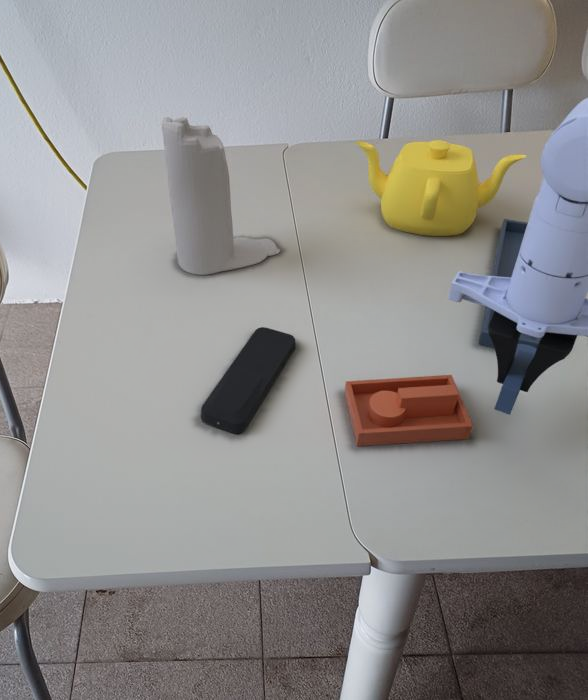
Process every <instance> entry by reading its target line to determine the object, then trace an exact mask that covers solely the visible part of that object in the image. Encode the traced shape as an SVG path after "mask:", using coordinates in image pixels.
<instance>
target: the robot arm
mask: <svg viewBox="0 0 588 700" xmlns="http://www.w3.org/2000/svg"><path fill="white" fill-rule="evenodd" d="M540 168H541V173H542V179H541V184H540V189H539V192H538V193H537V195H536V196H535V198H534V201H533V204H532V207H531V210H530V214H529V217H528V221H527V223H528V224H527V227H526V230H525V234H524V237H523V240H522V243H521V247H520V251H519V254H518V257H517V260H516V264H515V267H514V270H513V274H512V277H511V278H509V277H498V276H492V275H485V274H484V275H483V274H475V273H471V272H466V271H462V270H458V271H457V274H456V275H455V276H454V278H453V279H452V281H451V284H450V285H451V286H450V289H449V293H448V297H447V300H448V301H451V302H454V303H462V301H463V300H464V301H467V302H470V303H473V304H476V305H480V306H483V307H485V308H486V307H489V308H491V309H493V310H494V313H493V316H492V319H491V321H490V323H489V326H488V333H489V336H490V338H491V340H492V342H493V345H494V348H493V349H494V351H495V355H496V363H497V378H496V382H497V383H498V384H502V385H503V383H504V381H505V379H506V376H507V374H508V372H509V370H510V367H511V365H512V363H513V360H514V358H515V354H516V349H517V345H518V341H519V338H520V335H521V333H523V334H527V335H530V336H533V337H537V338H540V342H539V344H538V347H537V350H536V353H535V355H534V357H533V359H532V361H531V363H530V365H529V368H528V370H527V373H526V375H525V377H524V380H523V382H522V385H521V388H520V391H521V392H525V393H528V392H529V390H530V388H531V387H532V385H533V384H534V383H535V382H536V381H537V379H538V378H539V377H540V376H541V375H542V374H544V372H546V371H548V369H549V368H551V367H552V366H554V365H555V364H557V363H559V362H560V361H563V360H564V359H566V358H567V357H568V356H569V354H570V353H571V352H572V351H573V349H574V346H575V343H576V340H577V338H578V337H579V336H580V337H586V338H588V298H587V295H588V97H585V98H584V99H582V100H581V101H580V102H579V103H578V104H576V105H575V107H574V108H572V110H571V111H570V112H569V114H568V115H567V116H566V117H565V118H564V119H563V120H562V122H561V123H559V125H558V127H557V128H556V129H555V130H554V131H553V132H552V133H551V134H550V136H549V137H548V139H547V141H546V142H545V145H544V147H543V149H542V152H541V158H540Z"/></svg>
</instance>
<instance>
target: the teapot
mask: <svg viewBox="0 0 588 700" xmlns="http://www.w3.org/2000/svg"><path fill="white" fill-rule="evenodd" d="M355 144H356V145H357V146H358V147H360V148H361V149H362V150H363V151H364V153H365V154H366V158H367V163H368V165H367V166H368V182H369V186H370V189H371V190H372V192H374V194H375V195H376V196H377V197H379V198H380V210H381V215H382V217H383V219H384V221H385V223H386V225H387V226H389V227H390V228H392V229H394V230H397V231H401V232H405V233H410V234H415V235H421V236H430V237H450V236H458V235H461V234H463V233H465V232H466V231H467V230H468V229H469V228H470V226H471V225H473V223H474V222H475V220H476V217H477V213H478V209H479V208H481V207H483V206H486V205H487V204H489V203H490V202H492V200H493V199H494V198H495V197H496V195H497V194H498V192H499V189H500V187H501V185H502V182H503V180H504V177H505V175H506V173H507V171H508V170H509V169H510V167H512V166H513V165H514V164H516V163H517V162H519V161H520V160H523V159H525V158H526V157H527V155H526V154H510V155H506V156H504V157H502V158H501V159H500V160H499V161H498V162H497V163H496V165H495V167H494V168H493V171H492V173H491V175H490V176H489V178H487V179H486V180H485V181H483V182H480V183H479V175H478V170H477V169H478V168H477V165H476V160H475V157H474V153H473V151H472V149H471V148H469V147H467V146H464V145H460V144H455V143H449V142H447V141H446V140H441V139H436V140H435V139H433V140H431V141H412V142H408V143H405V145H404V146H403V147H402V148H401V149H400V151H399V153H398V155H397V156H396V158H395V159H394V162H393V164H392V165H391V168H390V170H389V171H388V174H386V173H385V172H384V171H382V169H381V166H380V155H379V152H378V149H377V148H376V147H375V146H374V145H373V144H371V143H368V142H365V141H361V140H357V141H355Z"/></svg>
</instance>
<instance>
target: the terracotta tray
mask: <svg viewBox="0 0 588 700" xmlns="http://www.w3.org/2000/svg"><path fill="white" fill-rule="evenodd" d="M441 385H455V387H456V389H457V392H458V394H459V395H458V399H457V402H456V406H455V409H454V413H453V415H444V416H429V417H413V418H404V420H403V422H402V423H401V424H400V425H398V426H396V427H392V428H385V427H381V426H378V425H376V424H375V423H373V422H372V421H371V419H370V418H369V416H368V408H369V401H370V398H371V396H372V395H373V394H375V393H376V392H379V391H392V392H395V393H398V388H410V387H425V386H441ZM344 399H345V402H346V407H347V411H348V415H349V419H350V424H351V427H352V431H353V435H354V440H355V444H356V446H357V447H362V446H363V447H364V446H379V445H391V444H392V445H393V444H394V445H395V444H409V443H410V444H411V443H424V442H425V443H426V442H440V441H455V440H457V441H458V440H470V439H471V434H472V431H473V428H474V424H473V422H472V420H471V418H470V415H469V413H468V410H467V408H466V405H465V403H464V401H463V398H462V396H461V394H460V392H459V389H458V387H457V385H456V382H455V380H454V377H453V375H452V374H442V375H440V374H439V375H426V376H411V377H395V378H394V377H393V378H380V379H379V378H378V379H364V380H363V379H362V380H347V381H345V385H344Z"/></svg>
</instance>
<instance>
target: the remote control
mask: <svg viewBox="0 0 588 700" xmlns="http://www.w3.org/2000/svg"><path fill="white" fill-rule="evenodd" d="M294 336H295V335H292V334H289V333H286V332H283V331H280V330H276V329H272V328H269V327H265V326H260V327H257V328H256V329H255V330H254V332H253V333H252V334H251V336H250V337H249V339H248V340H247V341H246V343H245V345H244V346H243V347H242V349H241V350H240V351H239V353H238V354H237V356H236V357H235V358H234V360H233V361H232V362H231V364H230V366H229V367H228V369H227V370H226V371H225V372H224V374H223V375H222V377H221V378H220V379H219V381H218V382H217V384H216V385H215V387H214V388H213V389H212V391H211V392H210V394H209V396H208V397H207V398H206V400H204V402H203V404H202V406H201V409H200V410H201V411H200V419H201V421H202V422H203V423H204V424H206V425H209V426H212V427H215V428H218V429H220V430H223V431H226V432H228V433H232V434H241V433H243V432H244V431H245V430H246V429H247V427H248V426H249V424H250V423H251V421H252V420H253V418H254V416H255V414H256V413H257V411H258V410H259V408H260V407H261V405H262V403H263V402H264V400H265V399H266V397H267V395H268V393H269V392H270V390H271V388H272V387H273V385H274V384H275V382H276V380H277V379H278V378H279V376H280V374H281V373H282V371H283V370H284V368H285V366H286V364H287V363H288V361H289V360H290V358H291V357H292V355H293V353H294V352H295V350H296V347H297V344H296V337H294Z"/></svg>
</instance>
